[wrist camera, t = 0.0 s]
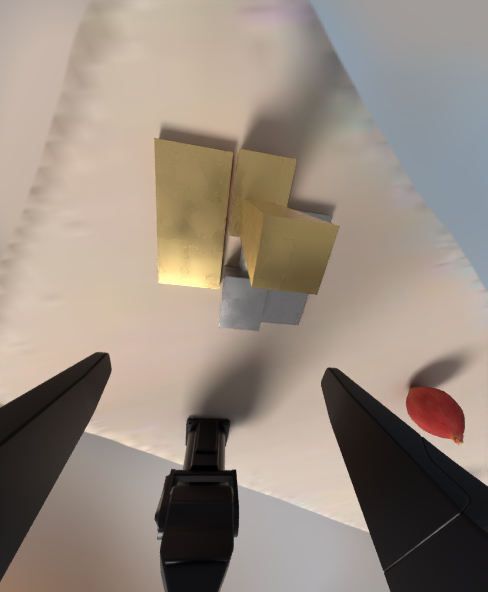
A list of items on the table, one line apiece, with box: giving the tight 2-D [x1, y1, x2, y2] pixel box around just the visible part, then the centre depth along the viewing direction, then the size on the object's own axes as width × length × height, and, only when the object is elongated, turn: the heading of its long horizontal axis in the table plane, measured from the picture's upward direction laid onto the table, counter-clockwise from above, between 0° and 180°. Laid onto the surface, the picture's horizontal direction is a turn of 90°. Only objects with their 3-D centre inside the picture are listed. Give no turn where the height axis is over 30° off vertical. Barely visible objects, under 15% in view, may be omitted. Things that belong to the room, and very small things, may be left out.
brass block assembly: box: [154, 138, 339, 295], centre depth 14 cm, size 12×11×14 cm
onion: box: [406, 387, 465, 445], centre depth 29 cm, size 6×6×8 cm
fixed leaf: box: [219, 210, 332, 331], centre depth 21 cm, size 15×9×3 cm, turn 172°
